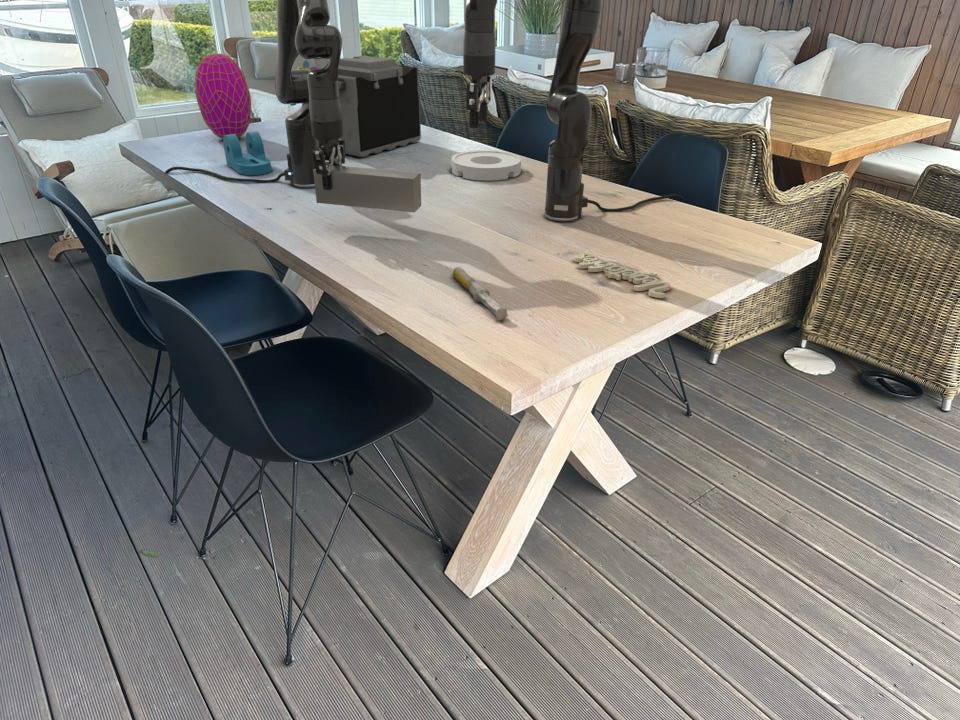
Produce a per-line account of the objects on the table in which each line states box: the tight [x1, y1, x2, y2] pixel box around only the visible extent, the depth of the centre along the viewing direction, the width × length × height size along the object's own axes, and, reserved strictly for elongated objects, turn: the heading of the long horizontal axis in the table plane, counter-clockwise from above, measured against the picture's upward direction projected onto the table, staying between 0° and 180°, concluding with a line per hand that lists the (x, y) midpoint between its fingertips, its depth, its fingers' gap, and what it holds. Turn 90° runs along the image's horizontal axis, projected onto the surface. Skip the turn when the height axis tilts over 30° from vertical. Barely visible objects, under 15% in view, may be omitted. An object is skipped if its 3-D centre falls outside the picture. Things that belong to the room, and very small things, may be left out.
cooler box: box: [338, 55, 422, 159], centre depth 250 cm, size 37×22×30 cm, turn 144°
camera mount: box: [222, 131, 272, 176], centre depth 226 cm, size 18×10×10 cm, turn 35°
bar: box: [313, 165, 422, 213], centre depth 172 cm, size 26×5×8 cm, turn 76°
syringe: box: [452, 266, 509, 321], centre depth 145 cm, size 25×4×3 cm, turn 21°
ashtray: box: [451, 149, 522, 182], centre depth 228 cm, size 23×23×4 cm
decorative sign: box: [574, 252, 671, 299], centre depth 155 cm, size 26×1×10 cm
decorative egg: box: [194, 53, 252, 140], centre depth 258 cm, size 19×19×30 cm
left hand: (332, 186), depth 174 cm, fingers closed on bar, 5 cm apart
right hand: (478, 124), depth 169 cm, fingers open, 8 cm apart
